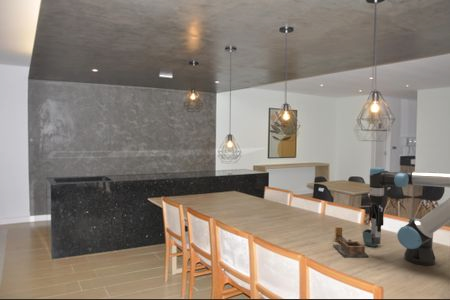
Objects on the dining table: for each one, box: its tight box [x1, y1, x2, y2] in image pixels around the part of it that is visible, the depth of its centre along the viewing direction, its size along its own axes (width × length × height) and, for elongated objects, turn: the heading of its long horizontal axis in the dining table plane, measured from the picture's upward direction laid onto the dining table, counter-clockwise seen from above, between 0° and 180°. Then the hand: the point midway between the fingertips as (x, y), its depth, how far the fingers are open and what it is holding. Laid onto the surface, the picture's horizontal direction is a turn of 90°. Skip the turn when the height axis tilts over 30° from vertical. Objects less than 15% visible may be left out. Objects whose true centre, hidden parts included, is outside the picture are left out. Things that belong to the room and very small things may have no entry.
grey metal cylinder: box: [370, 218, 382, 245], centre depth 192 cm, size 5×5×14 cm
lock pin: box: [334, 226, 351, 246], centre depth 212 cm, size 4×20×9 cm, turn 1°
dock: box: [332, 238, 370, 259], centre depth 201 cm, size 14×19×6 cm
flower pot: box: [362, 228, 378, 248], centre depth 213 cm, size 9×9×9 cm
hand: (375, 235), depth 193 cm, fingers closed on grey metal cylinder, 5 cm apart
